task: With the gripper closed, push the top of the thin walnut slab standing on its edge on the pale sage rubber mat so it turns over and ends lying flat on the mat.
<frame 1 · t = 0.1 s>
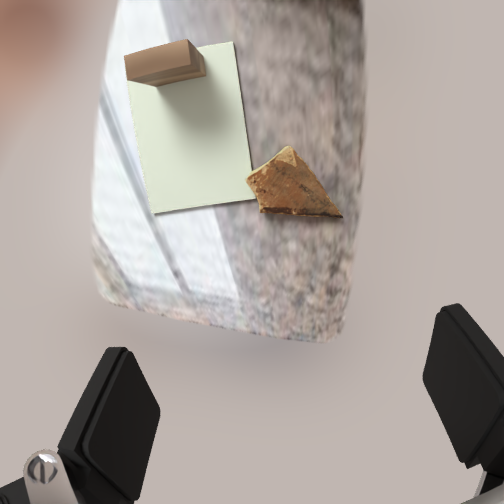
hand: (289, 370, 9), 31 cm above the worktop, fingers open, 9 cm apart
sage mat: (189, 128, 35), on the worktop
shard: (295, 180, 38), on the worktop, touching sage mat
walnut slab: (179, 71, 32), point 1 cm above the worktop, touching sage mat
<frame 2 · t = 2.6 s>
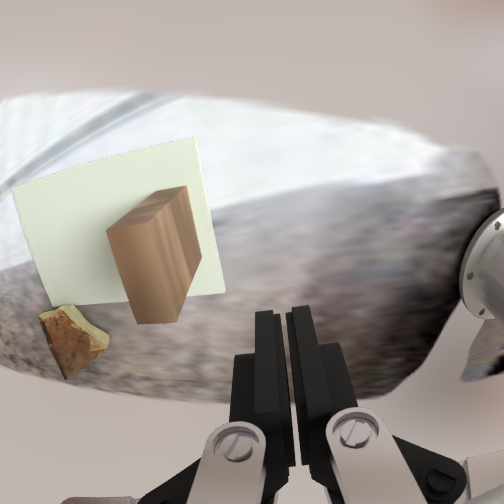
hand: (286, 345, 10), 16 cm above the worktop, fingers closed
sage mat: (107, 234, 26), on the worktop
shard: (82, 340, 32), on the worktop, touching sage mat
walnut slab: (179, 224, 25), point 1 cm above the worktop, touching sage mat
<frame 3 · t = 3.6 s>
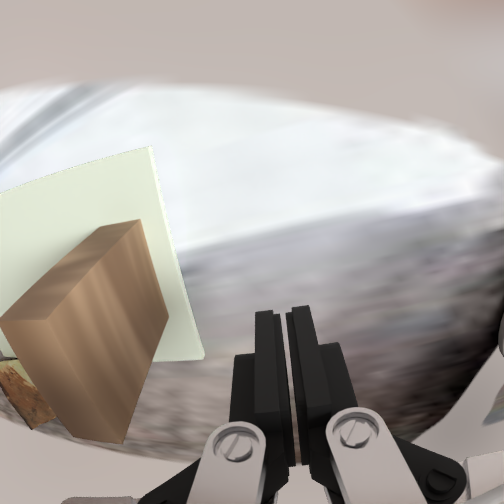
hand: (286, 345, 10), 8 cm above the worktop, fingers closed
sage mat: (48, 280, 18), on the worktop
shard: (42, 393, 23), on the worktop, touching sage mat
walnut slab: (134, 273, 17), point 1 cm above the worktop, touching sage mat
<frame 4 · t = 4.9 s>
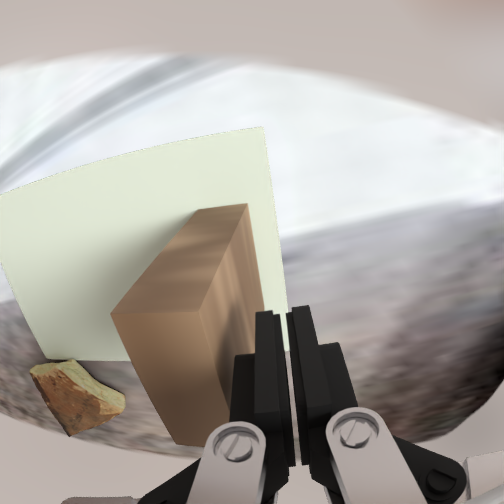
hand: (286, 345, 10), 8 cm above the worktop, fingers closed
sage mat: (118, 270, 18), on the worktop
shard: (88, 397, 23), on the worktop, touching sage mat
walnut slab: (233, 261, 17), point 1 cm above the worktop, tilted 5°, touching sage mat
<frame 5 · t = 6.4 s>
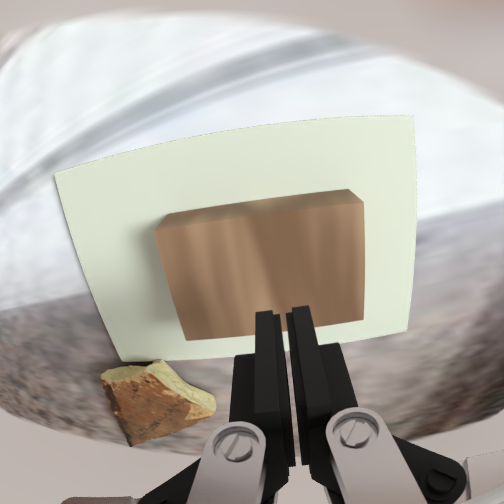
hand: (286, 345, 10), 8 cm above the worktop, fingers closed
sage mat: (243, 254, 17), on the worktop
shard: (164, 401, 22), on the worktop, touching sage mat
walnut slab: (357, 254, 15), point 2 cm above the worktop, tilted 90°, touching sage mat
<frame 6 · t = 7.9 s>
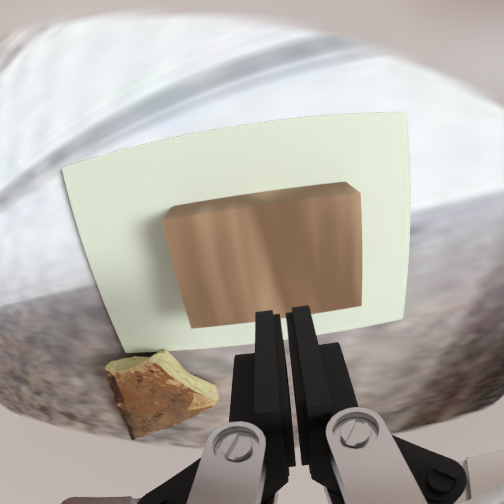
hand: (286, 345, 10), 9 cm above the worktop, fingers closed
sage mat: (245, 245, 18), on the worktop
shard: (167, 393, 23), on the worktop, touching sage mat
walnut slab: (355, 243, 16), point 2 cm above the worktop, tilted 90°, touching sage mat
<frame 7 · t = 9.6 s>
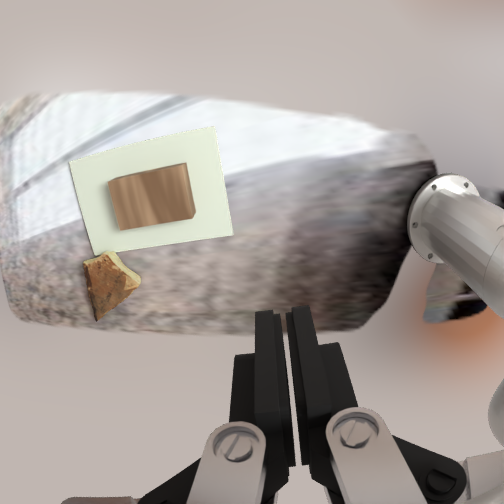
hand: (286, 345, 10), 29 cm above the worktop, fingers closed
sage mat: (147, 194, 37), on the worktop
shard: (116, 284, 42), on the worktop, touching sage mat
walnut slab: (189, 190, 35), point 2 cm above the worktop, tilted 90°, touching sage mat
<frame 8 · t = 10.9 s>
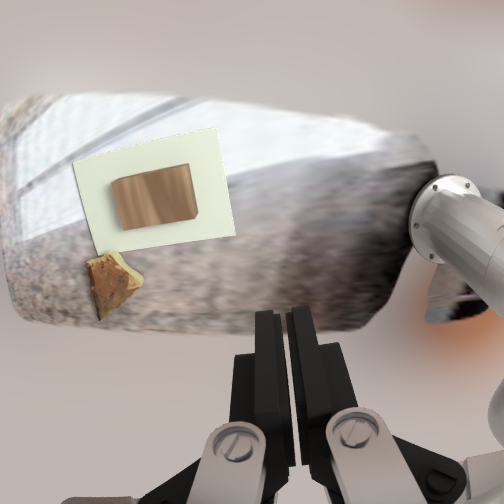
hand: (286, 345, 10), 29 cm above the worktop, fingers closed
sage mat: (150, 195, 38), on the worktop
shard: (119, 283, 43), on the worktop, touching sage mat
walnut slab: (191, 190, 36), point 2 cm above the worktop, tilted 90°, touching sage mat
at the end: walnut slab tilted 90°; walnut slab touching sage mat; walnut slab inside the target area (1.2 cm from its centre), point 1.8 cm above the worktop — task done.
